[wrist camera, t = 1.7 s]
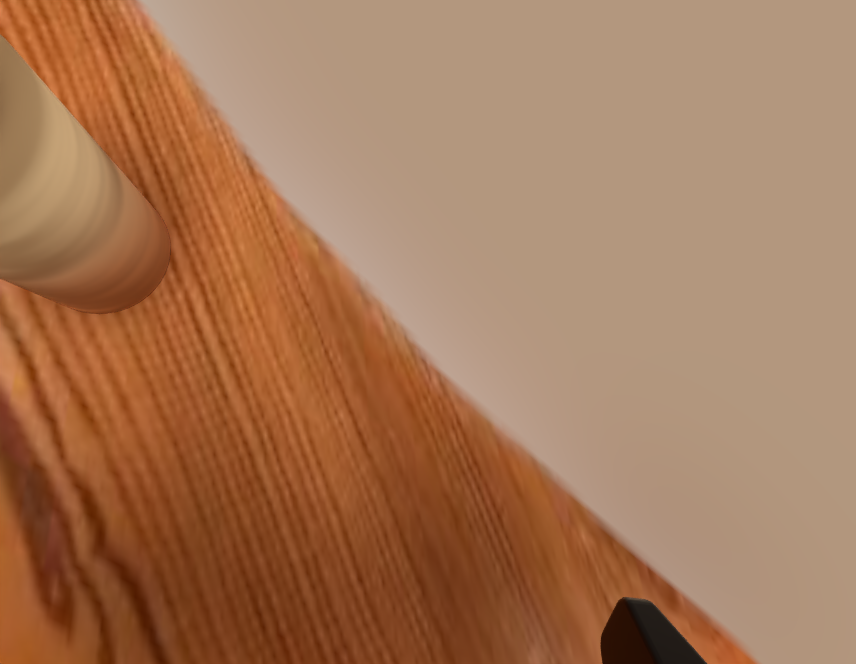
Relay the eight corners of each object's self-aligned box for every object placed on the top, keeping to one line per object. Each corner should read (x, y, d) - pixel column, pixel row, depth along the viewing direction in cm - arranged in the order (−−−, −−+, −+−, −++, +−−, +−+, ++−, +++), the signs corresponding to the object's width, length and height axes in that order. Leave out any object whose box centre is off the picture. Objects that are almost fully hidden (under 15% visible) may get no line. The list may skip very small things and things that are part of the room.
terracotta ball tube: (27, 313, 21) (-463, 144, 8) (36, 185, 22) (-405, -157, 9) (167, 314, 22) (-84, 158, 9) (173, 189, 23) (-55, -124, 10)
